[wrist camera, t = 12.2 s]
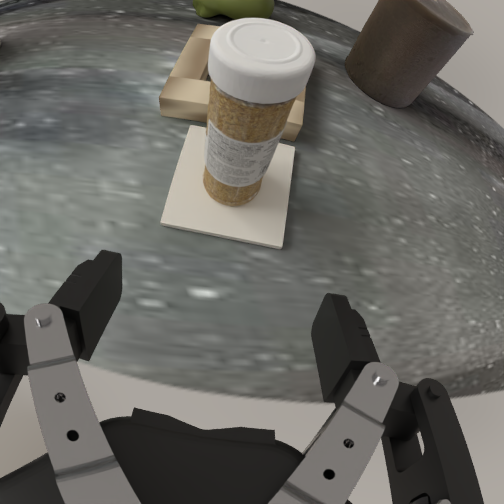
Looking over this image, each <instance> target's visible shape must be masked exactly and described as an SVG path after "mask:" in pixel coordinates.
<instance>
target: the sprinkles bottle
mask: <svg viewBox="0 0 504 504" xmlns="http://www.w3.org/2000/svg"><path fill="white" fill-rule="evenodd" d="M314 63H315V52H314V49H313V46H312V45H311V43H310V42H309V41H308V39H307V38H306V37H305V36H304V35H302V34H301V33H300V32H299V31H297V30H296V29H294V28H292V27H290V26H288V25H286V24H283V23H281V22H278V21H274V20H270V19H264V18H243V19H237V20H233V21H230V22H228V23H226V24H224V25H222V26H221V27H219V28H218V29H217V30H216V31H215V32H214V34H213V36H212V38H211V42H210V49H209V58H208V71H209V75H210V77H211V82H210V94H209V103H208V116H207V127H206V131H205V150H204V161H205V169H204V172H203V184H204V187H205V190H206V191H207V193H208V194H209V196H210V197H211V198H212V199H214V200H215V201H217V202H218V203H221V204H223V205H227V206H239V205H243V204H246V203H248V202H250V201H251V200H253V199H254V197H255V196H256V195H257V194H258V192H259V190H260V188H261V183H262V178H263V176H264V175H265V173H266V172H267V169H268V167H269V165H270V162H271V160H272V158H273V155H274V153H275V150H276V148H277V145H278V143H279V141H280V138H281V136H282V134H283V131H284V129H285V127H286V123H287V119H288V116H289V114H290V111H291V109H292V106H293V104H294V102H295V100H296V97H297V96H298V95H299V94H300V93H301V92H302V91H303V90H304V88H305V86H306V84H307V81H308V79H309V77H310V74H311V72H312V69H313V66H314Z"/></svg>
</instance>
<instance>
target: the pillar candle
mask: <svg viewBox="0 0 504 504" xmlns="http://www.w3.org/2000/svg"><path fill="white" fill-rule="evenodd" d="M473 33H474V32H473V30H472V29H471V27H470V25H469V23H468V22H467V21H466V20H465V18H464V17H463V16H462V15H461V14H460V13H459V12H458V11H457V10H456V9H455V8H454V7H453V6H452V5H451V4H449V3H448V2H447V1H446V0H379V1H378V3H377V5H376V6H375V8H374V10H373V12H372V14H371V15H370V17H369V18H368V20H367V22H366V24H365V25H364V27H363V29H362V31H361V33H360V35H359V36H358V38H357V41H356V42H355V44H354V46H353V48H352V50H351V52H350V54H349V56H347V58H346V60H345V61H346V62H345V68H346V70H347V73H348V75H349V77H350V78H351V79H352V81H353V82H354V83H355V84H356V85H357V86H358V87H359V88H360V89H361V90H362V91H364V92H365V93H366V94H367V95H369V96H370V97H372V98H373V99H375V100H377V101H379V102H381V103H382V104H384V105H387V106H390V107H394V108H404V107H407V106H408V105H410V104H411V103H412V102H413V101H414V100H415V99H416V97H417V96H418V95H419V94H420V93H421V92H422V91H423V90H424V88H425V87H426V86H427V85H428V84H429V83H430V82H431V81H432V79H433V78H434V77H435V76H436V75H437V74H438V72H439V71H440V70H441V69H442V68H443V67H444V66H445V64H446V63H447V62H448V61H449V60H450V59H451V57H452V56H453V55H454V54H455V53H456V52H457V50H458V49H459V48H460V47H461V46H462V45H463V43H464V42H465V41H466V39H467V38H469V36H470V35H473Z"/></svg>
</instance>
